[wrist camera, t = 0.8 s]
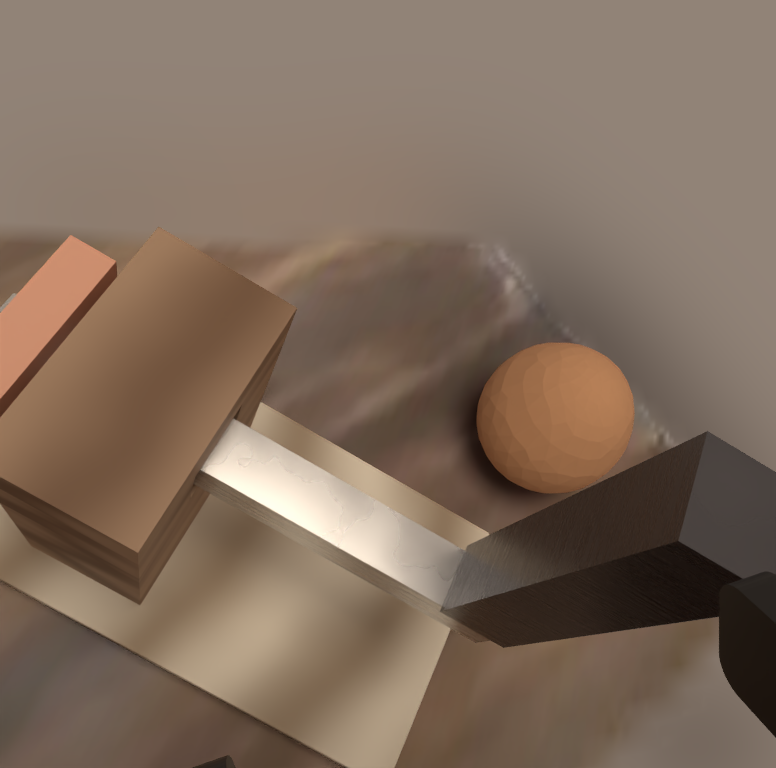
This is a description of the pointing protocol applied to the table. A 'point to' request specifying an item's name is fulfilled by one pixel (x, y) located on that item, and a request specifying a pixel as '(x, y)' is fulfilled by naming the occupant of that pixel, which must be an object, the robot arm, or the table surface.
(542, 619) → the gray l-shaped bracket
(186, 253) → the block
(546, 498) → the table surface
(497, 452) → the egg
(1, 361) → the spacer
